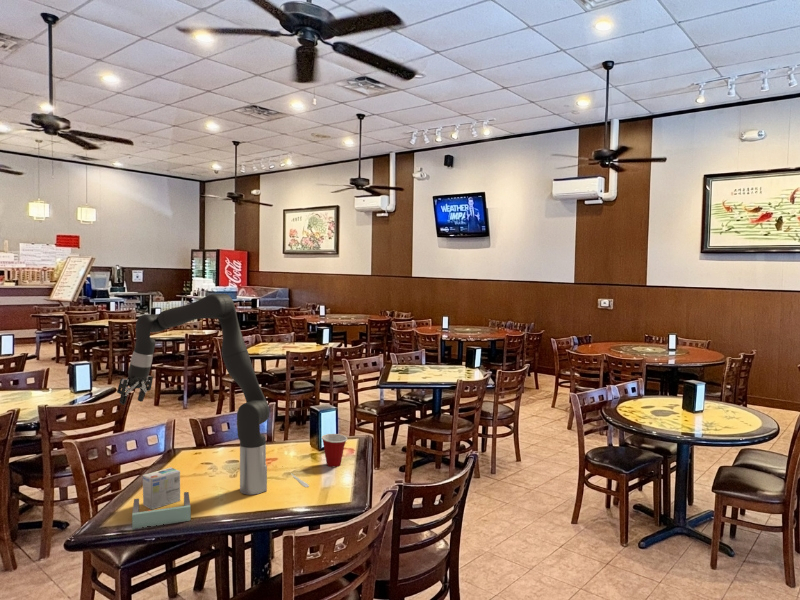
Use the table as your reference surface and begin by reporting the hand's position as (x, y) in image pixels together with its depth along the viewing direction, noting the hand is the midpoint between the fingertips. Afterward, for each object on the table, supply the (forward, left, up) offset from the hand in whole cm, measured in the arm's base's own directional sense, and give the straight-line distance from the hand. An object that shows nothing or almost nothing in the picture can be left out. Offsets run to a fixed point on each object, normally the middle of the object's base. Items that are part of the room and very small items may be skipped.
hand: (131, 402), depth 220 cm
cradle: (-11, +46, -29) cm, 55 cm away
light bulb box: (-11, +35, -29) cm, 47 cm away
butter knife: (-59, +26, -29) cm, 70 cm away
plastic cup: (-78, +19, -29) cm, 85 cm away
